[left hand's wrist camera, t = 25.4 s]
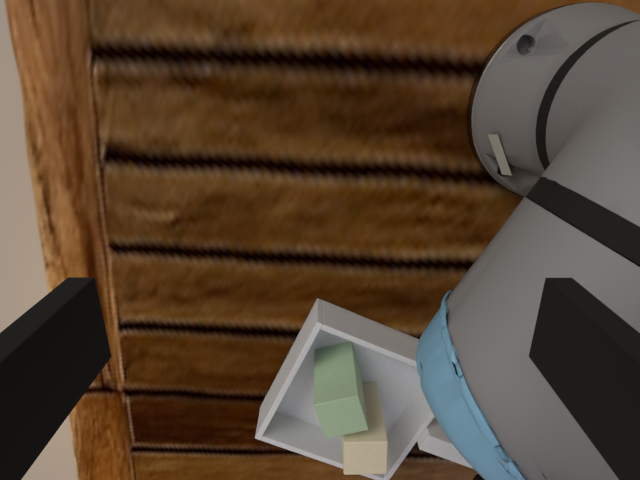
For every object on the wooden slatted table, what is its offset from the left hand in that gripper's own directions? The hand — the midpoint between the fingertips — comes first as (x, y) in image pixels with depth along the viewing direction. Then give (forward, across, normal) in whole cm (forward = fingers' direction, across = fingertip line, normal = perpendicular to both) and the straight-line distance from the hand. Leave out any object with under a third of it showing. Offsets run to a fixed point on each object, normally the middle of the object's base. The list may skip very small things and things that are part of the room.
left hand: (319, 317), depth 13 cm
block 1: (+26, -2, +21) cm, 34 cm away
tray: (+27, -9, +27) cm, 39 cm away
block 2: (+26, -4, +26) cm, 37 cm away
